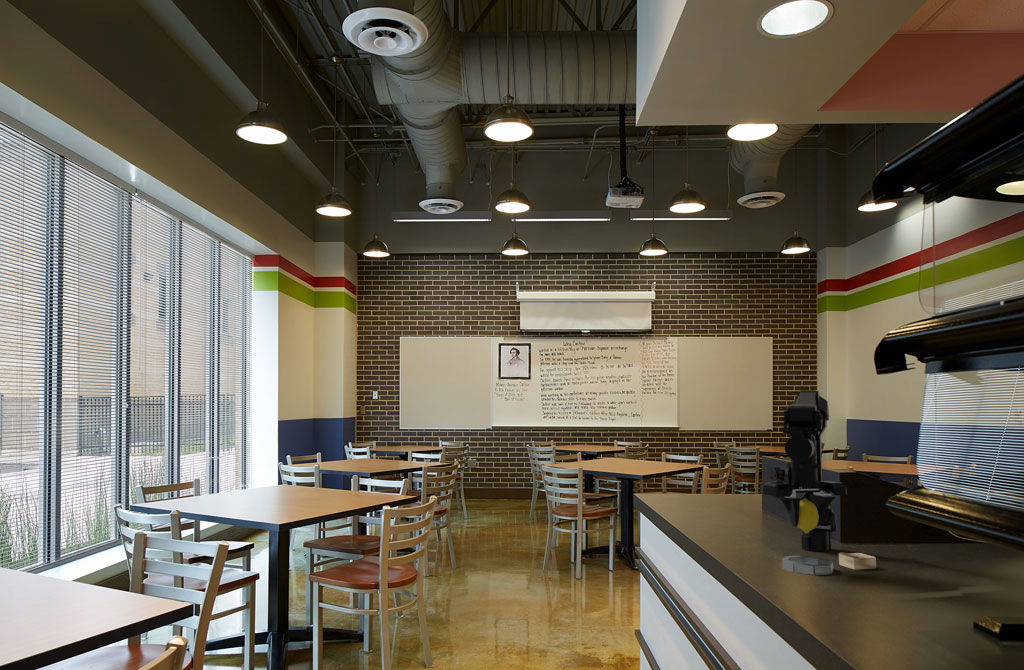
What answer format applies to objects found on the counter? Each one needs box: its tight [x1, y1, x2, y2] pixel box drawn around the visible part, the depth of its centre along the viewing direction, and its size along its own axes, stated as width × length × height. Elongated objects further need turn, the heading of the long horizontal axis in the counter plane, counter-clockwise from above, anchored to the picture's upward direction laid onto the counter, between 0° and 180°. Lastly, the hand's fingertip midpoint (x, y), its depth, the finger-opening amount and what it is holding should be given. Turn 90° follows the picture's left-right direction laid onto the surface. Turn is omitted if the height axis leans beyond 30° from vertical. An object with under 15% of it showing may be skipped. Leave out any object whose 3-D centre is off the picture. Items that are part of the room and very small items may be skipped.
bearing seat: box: [781, 555, 834, 576], centre depth 157 cm, size 10×10×2 cm
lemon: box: [796, 499, 819, 533], centre depth 158 cm, size 6×6×8 cm
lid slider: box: [838, 551, 877, 571], centre depth 160 cm, size 6×5×3 cm
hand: (806, 526), depth 158 cm, fingers closed on lemon, 5 cm apart
